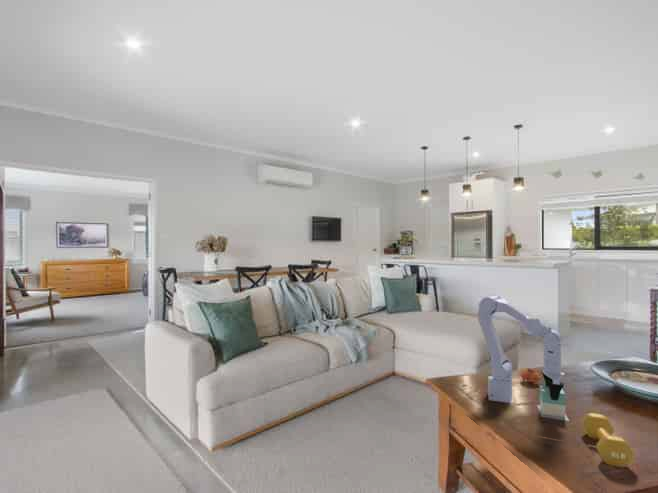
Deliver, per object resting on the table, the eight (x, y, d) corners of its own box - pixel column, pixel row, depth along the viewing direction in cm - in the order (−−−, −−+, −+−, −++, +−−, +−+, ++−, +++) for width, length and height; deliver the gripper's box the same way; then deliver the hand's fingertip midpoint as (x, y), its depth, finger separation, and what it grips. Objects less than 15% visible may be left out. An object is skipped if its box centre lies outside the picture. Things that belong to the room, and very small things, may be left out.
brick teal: (542, 402, 134) (542, 390, 134) (540, 396, 139) (540, 385, 138) (565, 405, 131) (565, 393, 131) (562, 399, 136) (562, 388, 136)
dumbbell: (636, 472, 101) (636, 444, 101) (599, 465, 104) (599, 438, 104) (610, 437, 118) (611, 414, 118) (579, 432, 122) (579, 409, 122)
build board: (541, 417, 132) (541, 416, 132) (536, 405, 141) (536, 404, 141) (569, 422, 128) (569, 420, 128) (562, 409, 138) (562, 408, 138)
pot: (525, 377, 170) (528, 364, 168) (541, 386, 163) (545, 373, 162) (516, 380, 166) (519, 367, 164) (532, 389, 159) (535, 376, 158)
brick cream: (542, 413, 134) (542, 402, 134) (540, 407, 139) (540, 396, 139) (565, 417, 131) (565, 405, 131) (562, 411, 136) (562, 400, 136)
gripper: (569, 368, 126) (569, 405, 126) (559, 356, 140) (560, 389, 140) (546, 366, 129) (546, 402, 129) (539, 354, 142) (539, 387, 143)
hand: (552, 395), depth 135 cm, fingers open, 7 cm apart
